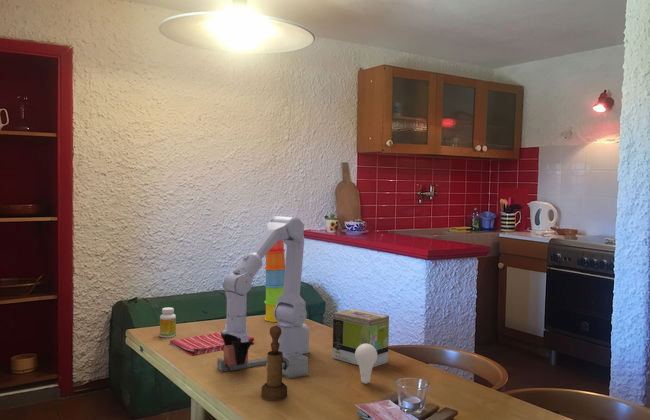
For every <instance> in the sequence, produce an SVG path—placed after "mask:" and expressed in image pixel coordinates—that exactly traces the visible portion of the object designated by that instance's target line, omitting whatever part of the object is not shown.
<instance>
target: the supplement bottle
mask: <svg viewBox="0 0 650 420" xmlns="http://www.w3.org/2000/svg"><path fill="white" fill-rule="evenodd" d="M174 312H175V309H174V307H169V306H168V307H163V308H162V309H161V315H160V316H159V337H161V338H166V339H167V338H168V339H169V338H174V337H175V336H176V331H177V321H176V319H177V317H176V316H177V315H176V314H175V313H174Z"/></svg>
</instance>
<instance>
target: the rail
mask: <svg viewBox="0 0 650 420" xmlns="http://www.w3.org/2000/svg"><path fill="white" fill-rule="evenodd" d="M266 365H267V357H262V358H256V359H248V364H247V368H251V367H253V368H254V367H260V366H266ZM247 368H246V369H247ZM217 370H218V371H219V372H221V373H222V372H223V373H224V372H226V371H227V372H228V371H230V366H227V365H226V364H225V361H224V358H222V357H219V358H217Z"/></svg>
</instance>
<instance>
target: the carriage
mask: <svg viewBox="0 0 650 420" xmlns="http://www.w3.org/2000/svg"><path fill="white" fill-rule="evenodd" d="M223 360H224V361H225V364H226V365H227V366H230V370H229V372H230V371H236V370H242V369H243V370H244V369H247V364H248V360H249V351H248V352H247V355H246V359H245V363H244V364H242V365H237V363H236V357H235V350H234V347H233V345H226V346H224V350H223Z"/></svg>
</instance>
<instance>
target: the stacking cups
mask: <svg viewBox="0 0 650 420" xmlns="http://www.w3.org/2000/svg"><path fill="white" fill-rule="evenodd" d="M284 245H285V243H284V242H283V241H282V240H279V241H277V242H276V243H275V244H274V245H273V246H272V248H271V249H270V250H269V251H268V252H267V254H266V255H265V266H264V270H265V283H264V287H265V300H264V301H263V302H264V303H263V304H265V316H264V317H263V320H265V322H270V323H277V320H276V319H275V317H274V309H275V307H276V304H277V299H278V298H279V297H280V296H281V295H282V294H283V286H284V274H285V262H286V254H285V253H286V250H285V246H284Z"/></svg>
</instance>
